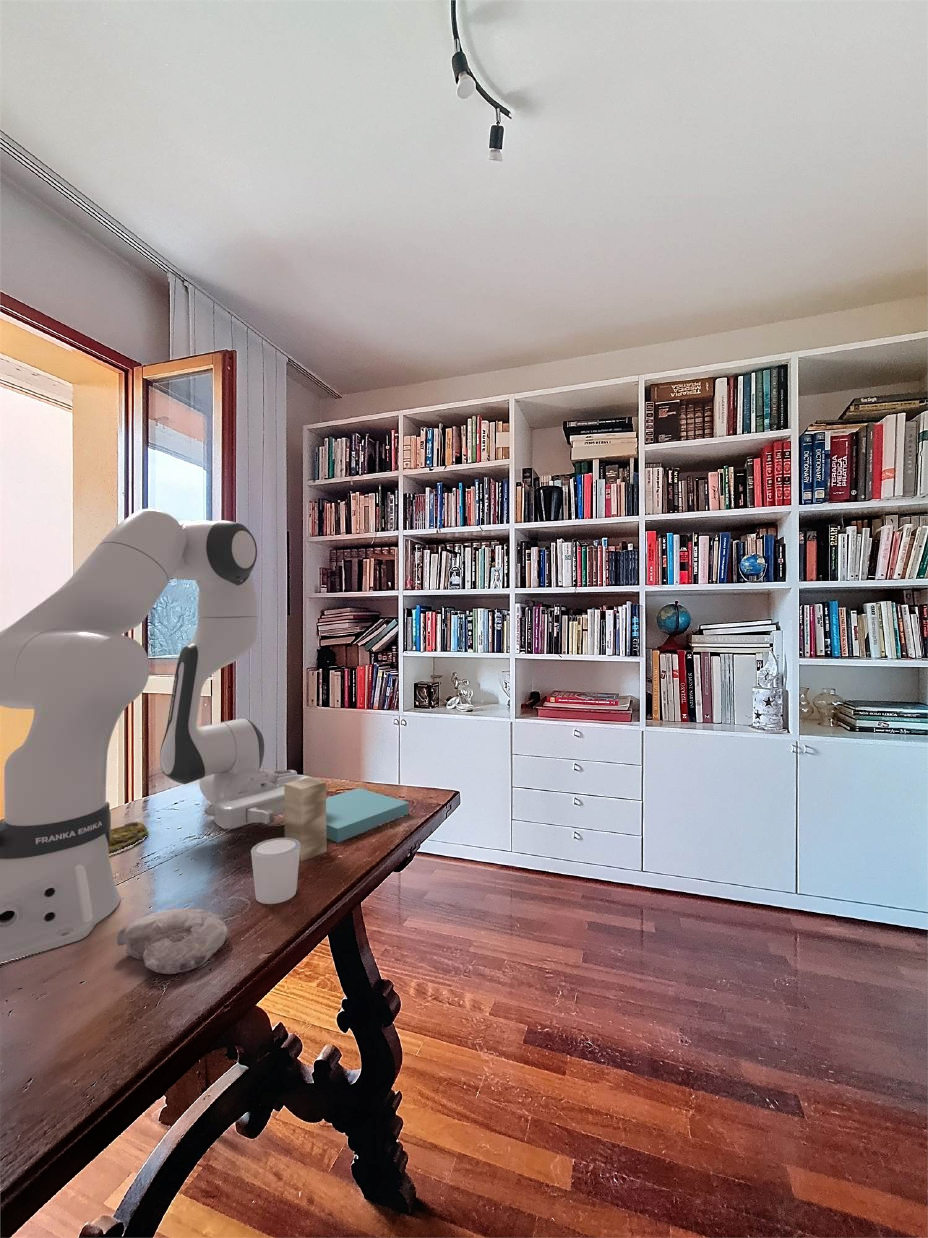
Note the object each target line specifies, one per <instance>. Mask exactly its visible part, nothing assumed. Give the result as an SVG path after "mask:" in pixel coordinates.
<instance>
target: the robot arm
mask: <svg viewBox="0 0 928 1238" xmlns="http://www.w3.org/2000/svg"><path fill="white" fill-rule="evenodd" d="M257 557H258V547H257V542H256V540H255V537H254V535H253V533H251V531H250V530H249V529H248V527H247V526H245V525H244V524H242V523H239V522H235V521H231V520H223V519H222V520H219V521H215V520H196V519H190V520H181V521H179V520H177V519H176V518H175V517H173V516H172V515H170V514H168V513H167V512H165V511H162V510H160V509H154V508H145V509H144V508H143V509H139V510H137V511H134V512H133V513H131V514H130V515H129V516H128V517H126V518H124V520H122V521H121V522H120V523H118V524H117V525H116V526H115V527H114V528H113V529H112V530H111V531H110V532H109V533H108V534H107V535H105V537H104V538H103V539H102V540H101V542H100V543H99V544H98V545H97V546H96V547H95V549H94V550H93V551H92V552H91V553H90V555H89V556H88V557H87V558H86V559H85V561H83V563H81V566H79V568H78V569H77V570H76V571H75V572H74V573H73V575H72V576H71V577H70V578H69V579H68V580H67V581H66V582H65V583H64V584H63V585H61V587H60V588H58V589H57V591H55V592H54V593H52V594H51V595H50V596H48V597H47V598H45V600H43V601H42V602H41V603H39V604H38V605H36V606H35V607H34V608H33V609H31V610H30V611H28V612H27V613H26V614H24V615H23V616H21V618H19V619H18V620H16V621H15V622H14V623H12V624H11V625H9V626H8V627H6V628H4V629H2V630H0V707H4V708H8V709H22V710H34V711H33V718H32V723H31V725H30V728H29V731H28V733H27V736H26V738H25V740H24V742H23V743H22V744H21V746H19V747H17V748H16V749H15V750H14V751H13V752H11V754H9V756H7V757H8V758H7V759H6V761H5V764H4V768H3V769H4V771H3V772H4V776H3V777H4V782H3V783H4V787H3V788H4V790H3V791H4V796H3V797H4V798H3V799H4V802H3V804H4V805H3V806H4V807H3V808H4V815H3V816H4V818H3V819H1V820H0V963H1V962H5V961H9V960H11V959H16V958H20V957H23V956H27V955H30V956H32V955H31V954H33V955H36V954H39V952H40V953H42V951H43V952H45V951H48V950H49V951H50V950H53V949H56V948H59V947H62V946H65V945H68V944H72V943H74V942H78V941H80V940H82V939H84V938H86V937H87V936H88V935H89V934H90V933H91V932H92V930H93V929H94V927H95V926H96V925H97V924H98V923H99V922H101V921H102V920H104V919H105V918H106V917H108V916H109V915H110V914H112V912H113V911H114V910H115V909H116V908H117V907H118V905H119V903H120V902H121V896H120V894H119V893H120V892H119V891H118V888H117V885H116V883H115V879H114V878H115V877H114V875H113V869H112V865H111V859H110V857H109V850H108V842H109V841H110V833H111V829H112V816H111V815H112V814H111V810H110V803H109V802H108V801H107V769H108V767H107V766H108V754H109V753H108V752H109V751H108V750H109V747H110V742H111V739H112V735H113V732H114V730H115V727H116V725H117V723H118V721H119V720H120V719H119V718H120V717H121V715H122V713H124V711H125V709H126V708H127V707H128V706H129V705H130V704H131V703H132V702H133V701H134V700H136V699H137V698H138V697H139V696H141V694H142V693H143V691H144V690H145V688H146V686H147V684H148V681H149V677H150V660H149V657H148V653H147V652H146V650H145V648H144V647H143V645H141V644H140V642H139V641H137V640H136V639H134V638H132V637H131V636H127V635H123V634H125V633H128V632H130V631H132V630H133V629H135V628H137V627H138V626H139V625H140V624H142V623H143V622H144V621H145V619H146V618H147V616H148V614H150V612H151V610H152V609H153V607H154V606H155V605H156V602H157V601H158V600H159V598H160V596H161V595H162V594H163V592H164V591H165V589H166V587H167V586H168V584H169V583H170V582H171V580H182V581H183V580H184V581H195V584H196V586H197V587H198V597H197V624H196V629H195V632H194V635H193V637H192V639H191V641H190V642H189V643H188V644H187V645H185V646H184V647H182V649H181V650H180V652H179V653H180V654H179V656H178V659H177V662H176V667H175V674H174V680H173V684H172V685H173V686H172V690H171V691H172V692H171V697H170V704H169V711H168V718H167V724H166V729H165V733H164V735H163V739H162V743H161V747H160V753H159V763H160V768H161V771H162V773H163V774H164V776H166V777H167V778H169V779H170V780H171V781H173V782H176V783H179V784H182V785H187V784H190V783H193V782H196V781H199V782H198V783H199V790H200V792H201V794H202V796H203V797H204V798H205V799H206V800H207V801H208V802H209V803H211V804H210V805H208V807H205V808H204V811H203V813H204V815H206V816H209V817H213V821H214V823H215V824H216V825H217V826H219V827H221V828H222V829H224V830H233V829H234V830H235V829H237V828H239V827H243V826H246V825H248V824H249V825H250V824H253V823H262V824H264V825H267V824H271V823H273V822H275V820H276V819H275V818H276V816H278V815H283V814H285V802H284V784H286V783H289V782H293V781H297V780H301V779H305V778H308V777H310V778H313V779H316V778H314V777H312V776H308V775H304V774H298V772H297V771H296V770H295V769H288V770H287V769H286V770H277V771H276V770H275V771H268V770H261V767H262V764H263V761H264V756H265V741H264V736H263V734H262V732H261V730H260V729H259V728H258V727H257V726H256V725H255V724H254V723H253V722H252V721H251V720H249V719H247V718H246V717H245V718H238V719H237V718H236V719H232V720H231V719H230V720H226V721H220V722H218V723H214V724H207V725H203V726H197V723H198V718H199V717H198V715H199V709H200V704H201V695H202V691H203V686H204V684H205V683H206V681H207V680H208V679H209V678H210V677H211V676H212V675H213V674H215V673H216V672H218V671H219V670H221V669H223V668H224V667H226V666H228V665H230V664H233V663H235V662H237V661H239V660H241V658H243V657H245V656H246V655H247V654H248V653H249V652H250V651H251V650H252V648H253V647H254V646H255V644H256V642H257V638H258V633H259V631H258V630H259V619H258V615H259V614H258V603H257V602H258V601H257V594H256V589H255V583H254V579H253V575H252V571H253V569H254V567H255V565H256V562H257ZM52 948H53V949H52ZM35 953H36V954H35ZM27 957H28V956H27ZM20 959H21V958H20Z"/></svg>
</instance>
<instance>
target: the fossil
mask: <svg viewBox="0 0 928 1238" xmlns="http://www.w3.org/2000/svg"><path fill="white" fill-rule="evenodd" d="M221 919H222V918H221V916H219V915H218V914H217V913H211V912H208V911H206V910H205V909H201V908H197V909H195V908H194V909H193V908H192V909H191V908H174V909H166V910H163V911H157V912H153V913H150V914H148V915H147V914H146V916H142V917H140V918H137V919H135V920H134V921H132V922H130V923H129V924H127V925H125V926H124V927H122V928H121V929H120V930H119V931H118V932H117V934H116V937H115V938H116V945H117V946H119V947H121V946H124V945H126V950H125V953H126V954H127V955H128V954H129V956H131V957H132V958H133V959H135V960H141V961H142V960H143V962H144V966H145V967H146V968H147V969H149V970H151V971H153V972H155V973H158V974H159V973H160V974H165V975H167V974H168V975H172V974H173V975H175V974H177V973H178V974H179V973H183V972H184V973H185V972H188V971H190V970H193V969H197V968H199V967H200V966H202V965H204V964H205V963H206V962H207V961H208V960H209V959H210V958H211V957H212V955H214V954H215V953H216V952H217V951H218V950H219V949H220V948H221V947H222V946H223V945H224V943H225V942H226V939H227V936H228V933H229V930H228V928H227V925H226V923H225V922H223V921H222V920H221Z"/></svg>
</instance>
